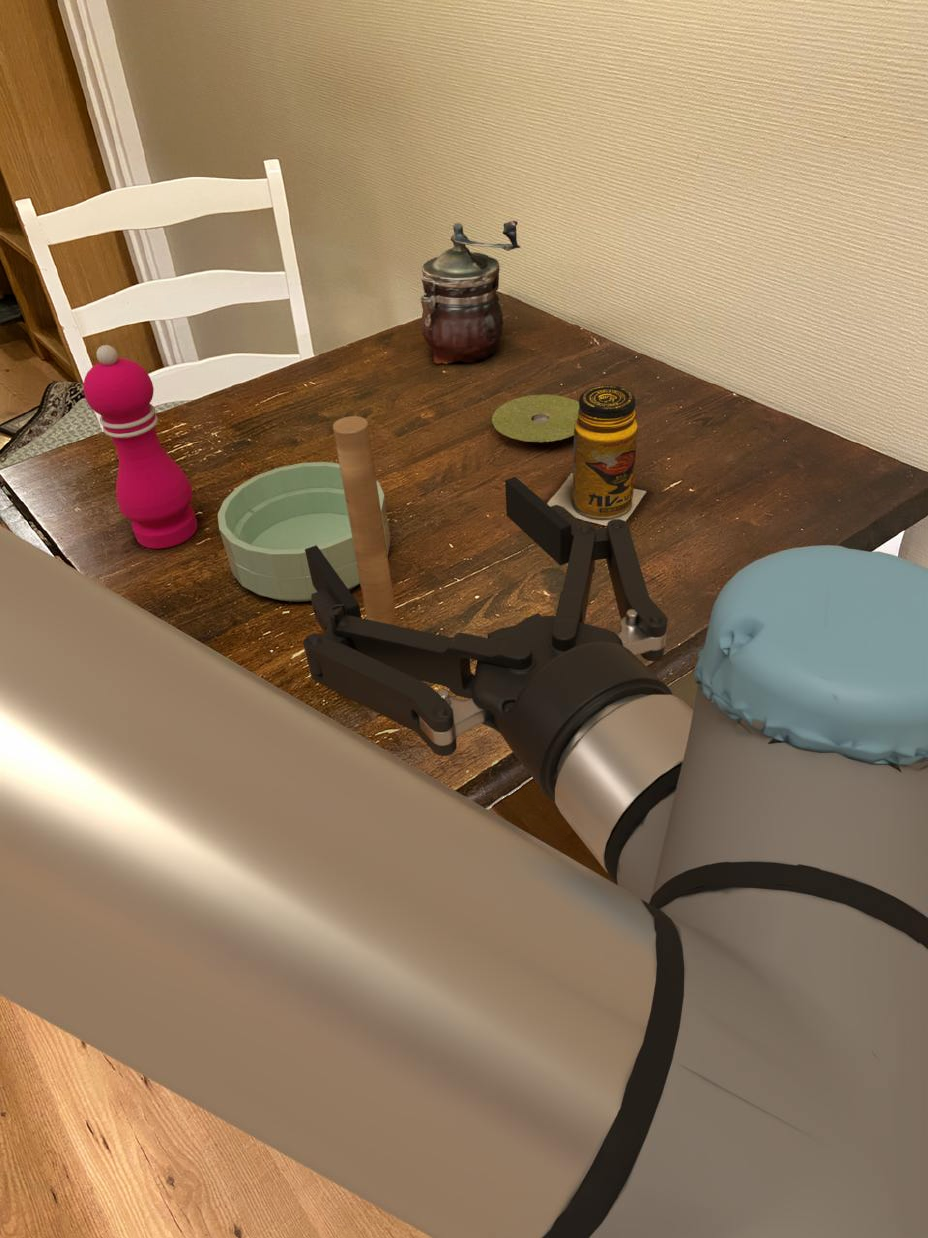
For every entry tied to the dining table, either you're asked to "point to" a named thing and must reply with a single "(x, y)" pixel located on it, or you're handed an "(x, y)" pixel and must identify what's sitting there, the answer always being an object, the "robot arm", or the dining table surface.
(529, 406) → the olive green flat disc
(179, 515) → the pepper mill
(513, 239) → the coffee grinder
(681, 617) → the dining table surface
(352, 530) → the wooden post with base
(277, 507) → the bowl
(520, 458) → the dining table surface
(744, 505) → the dining table surface
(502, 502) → the dining table surface
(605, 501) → the condiment
